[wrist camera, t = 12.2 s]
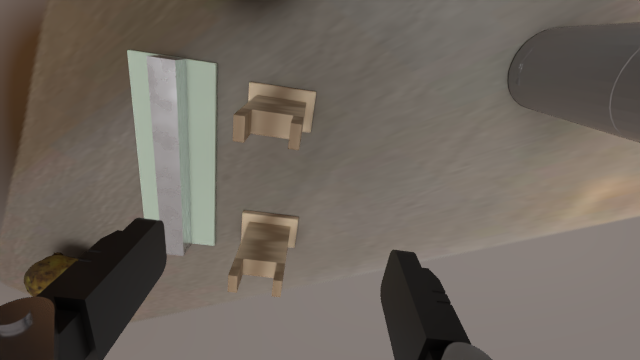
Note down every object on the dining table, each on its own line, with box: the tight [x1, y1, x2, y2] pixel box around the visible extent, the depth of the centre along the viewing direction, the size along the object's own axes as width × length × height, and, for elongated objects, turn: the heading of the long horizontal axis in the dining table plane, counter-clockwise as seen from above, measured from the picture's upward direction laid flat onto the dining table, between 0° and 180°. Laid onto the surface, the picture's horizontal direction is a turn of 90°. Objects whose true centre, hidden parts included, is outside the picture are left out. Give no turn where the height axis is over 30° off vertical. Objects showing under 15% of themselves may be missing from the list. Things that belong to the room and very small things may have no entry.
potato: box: [24, 253, 79, 297], centre depth 45 cm, size 8×13×8 cm, turn 37°
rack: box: [228, 82, 316, 297], centre depth 36 cm, size 8×23×12 cm, turn 172°
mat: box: [127, 50, 217, 246], centre depth 41 cm, size 10×26×1 cm, turn 172°
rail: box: [146, 55, 192, 256], centre depth 39 cm, size 3×26×3 cm, turn 172°
